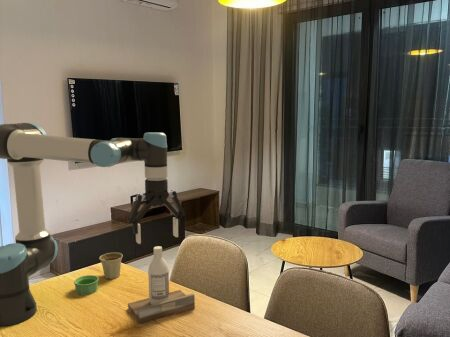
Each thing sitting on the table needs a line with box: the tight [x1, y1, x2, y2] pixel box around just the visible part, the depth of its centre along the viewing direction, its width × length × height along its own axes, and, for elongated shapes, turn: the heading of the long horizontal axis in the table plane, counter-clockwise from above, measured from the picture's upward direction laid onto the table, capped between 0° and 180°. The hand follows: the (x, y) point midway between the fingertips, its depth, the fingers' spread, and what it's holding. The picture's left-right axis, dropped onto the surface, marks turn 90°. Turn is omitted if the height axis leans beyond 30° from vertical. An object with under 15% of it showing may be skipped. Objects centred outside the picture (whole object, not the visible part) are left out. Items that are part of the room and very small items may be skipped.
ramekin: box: [73, 274, 100, 296], centre depth 153 cm, size 9×9×4 cm
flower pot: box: [98, 252, 123, 280], centre depth 166 cm, size 9×9×9 cm
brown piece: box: [127, 289, 196, 325], centre depth 138 cm, size 12×20×5 cm, turn 121°
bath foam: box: [147, 245, 170, 305], centre depth 138 cm, size 7×7×20 cm
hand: (157, 239), depth 136 cm, fingers open, 13 cm apart
